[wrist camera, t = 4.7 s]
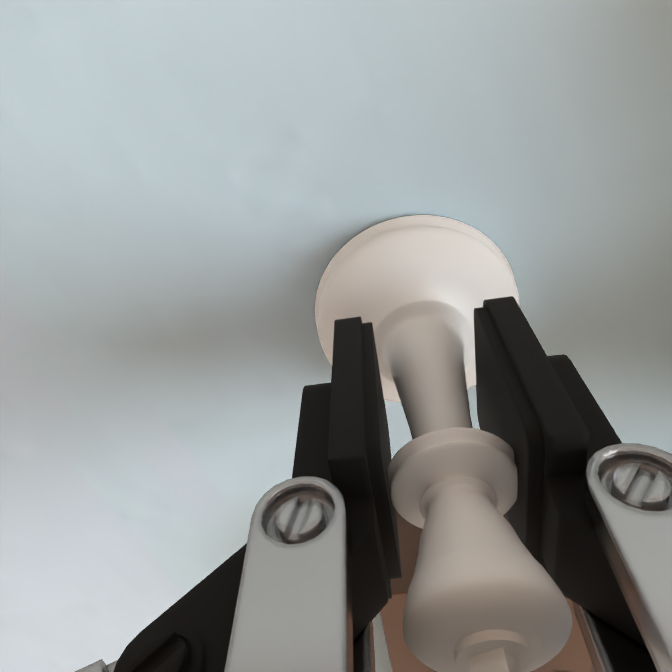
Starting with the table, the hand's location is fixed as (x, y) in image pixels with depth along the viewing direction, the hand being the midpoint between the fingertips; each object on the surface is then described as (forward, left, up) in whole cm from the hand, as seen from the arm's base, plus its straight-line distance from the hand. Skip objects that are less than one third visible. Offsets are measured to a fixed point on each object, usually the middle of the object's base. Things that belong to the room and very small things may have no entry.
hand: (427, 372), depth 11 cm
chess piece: (0, 0, -3) cm, 3 cm away
